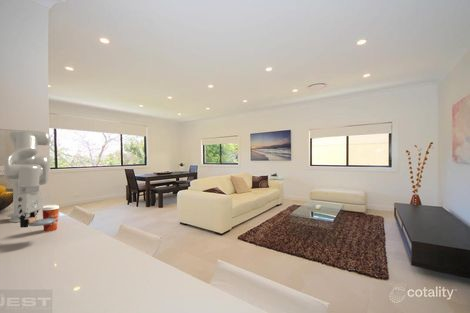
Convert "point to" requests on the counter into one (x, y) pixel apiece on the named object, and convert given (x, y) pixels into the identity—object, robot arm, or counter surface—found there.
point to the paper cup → (50, 216)
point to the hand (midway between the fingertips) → (28, 225)
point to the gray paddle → (39, 221)
